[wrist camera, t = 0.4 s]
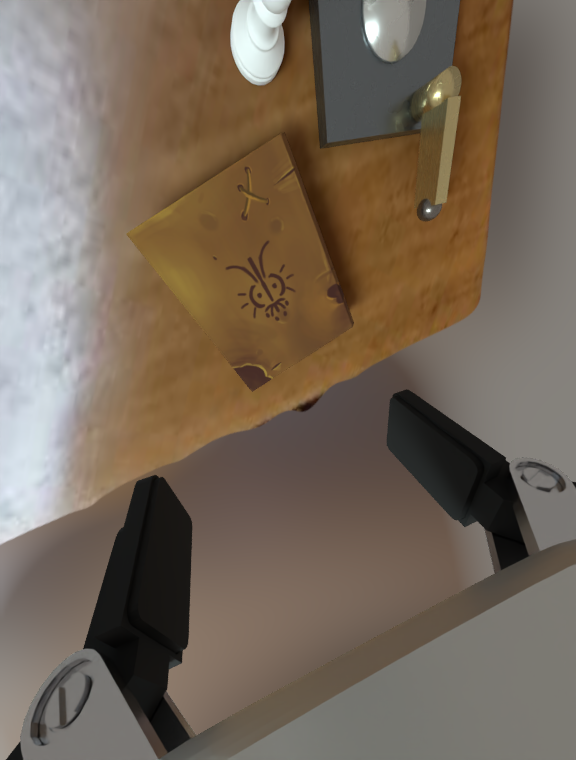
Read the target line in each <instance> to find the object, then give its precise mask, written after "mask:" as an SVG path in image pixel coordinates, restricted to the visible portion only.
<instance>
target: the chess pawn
mask: <svg viewBox="0 0 576 760" xmlns="http://www.w3.org/2000/svg"><path fill="white" fill-rule="evenodd" d="M290 2H291V0H240V1H239V3H238V4H237V6H236V8H235V11H234V13H233V19H232V26H231V33H230V38H231V49H232V54H233V57H234V60H235V63H236V65H237V67H238V69H239V70H240V72H241V74H242V75H243V76H244V77H245V78H246V79H247V80H248V81H250V82H251V83H253V84H256V85H266V84H267V83H269V82H271V81H272V80H273V78H274V77H275V76H276V74H277V72H278V70H279V67H280V65H281V63H282V60H283V55H284V44H285V41H284V32H283V28H282V23H283V21H284V19H285V17H286V14H287V9H288V6H289V4H290Z"/></svg>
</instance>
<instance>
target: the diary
mask: <svg viewBox="0 0 576 760" xmlns="http://www.w3.org/2000/svg"><path fill="white" fill-rule="evenodd" d="M127 236H128V237H129V238H130V239H131V241H132V242H133V243H134V244H135V246H136V247H137V248H138V249H139V251H140V252H141V253H142V254H143V256H144V257H145V258H146V259H147V261H148V262H149V263H150V264H151V266H152V267H153V268H154V269H155V271H156V272H157V273H158V274H159V276H160V277H161V278H162V279H163V281H164V282H165V283H166V284H167V286H168V287H169V288H170V289H171V291H172V292H173V293H174V295H175V296H176V297H177V298H178V300H179V301H180V302H181V303H182V305H183V306H184V307H185V308H186V310H187V311H188V312H189V313H190V315H191V316H192V317H193V318H194V320H195V321H196V322H197V323H198V325H199V326H200V327H201V328H202V330H203V331H204V332H205V333H206V335H207V336H208V337H209V338H210V340H211V341H212V342H213V343H214V345H215V346H216V347H217V348H218V350H219V351H220V352H221V353H222V355H223V356H224V357H225V359H226V360H227V361H228V362H229V364H230V365H231V366H232V367H233V369H234V370H235V371H236V372H237V374H238V375H239V376H240V377H241V379H242V380H243V381H244V382H245V384H246V385H247V386H248V387H249V389H250V390H251V391H252V392H253V391H254V390H256V389H257V388H259V387H260V386H262V385H263V384H265V383H266V382H268V381H270V380H271V379H273V378H274V377H276V376H277V375H279V374H280V373H282V372H284V371H285V370H287V369H288V368H290V367H291V366H293V365H294V364H296V363H298V362H299V361H301V360H302V359H304V358H305V357H307V356H308V355H310V354H312V353H313V352H315V351H316V350H318V349H319V348H321V347H322V346H324V345H325V344H327V343H329V342H330V341H332V340H333V339H335V338H336V337H338V336H339V335H341V334H343V333H344V332H346V331H347V330H349V329H350V328H352V327H353V324H354V322H353V319H352V316H351V313H350V311H349V308H348V305H347V302H346V300H345V297H344V294H343V291H342V289H341V286H340V283H339V280H338V278H337V275H336V272H335V269H334V267H333V264H332V261H331V258H330V256H329V253H328V250H327V247H326V245H325V242H324V239H323V236H322V234H321V231H320V228H319V225H318V223H317V220H316V217H315V214H314V212H313V209H312V206H311V203H310V201H309V198H308V195H307V192H306V190H305V187H304V184H303V181H302V179H301V176H300V173H299V170H298V168H297V165H296V162H295V159H294V157H293V154H292V151H291V149H290V146H289V143H288V140H287V138H286V135H285V133H281V134H279V135H278V136H276V137H274V138H273V139H271V140H270V141H268V142H267V143H265V144H264V145H262V146H261V147H259V148H257V149H256V150H254V151H253V152H251V153H250V154H248V155H247V156H245V157H244V158H242V159H241V160H239V161H237V162H236V163H234V164H233V165H231V166H230V167H228V168H227V169H225V170H224V171H222V172H221V173H219V174H217V175H216V176H214V177H213V178H211V179H210V180H208V181H207V182H205V183H204V184H202V185H201V186H199V187H197V188H196V189H194V190H193V191H191V192H190V193H188V194H187V195H185V196H184V197H182V198H181V199H179V200H177V201H176V202H174V203H173V204H171V205H170V206H168V207H167V208H165V209H164V210H162V211H161V212H159V213H157V214H156V215H154V216H153V217H151V218H150V219H148V220H147V221H145V222H144V223H142V224H141V225H139V226H137V227H136V228H134V229H133V230H131V231H130V232H128V233H127Z"/></svg>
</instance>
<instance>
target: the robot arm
mask: <svg viewBox="0 0 576 760" xmlns="http://www.w3.org/2000/svg"><path fill="white" fill-rule="evenodd" d="M387 446H388V448H389V450H390V451H391V452H392V453H393V454H394V455H395V457H396V458H397V459H398V460H399V461H400V462H401V463H402V464H403V465H404V466H405V467H406V468H407V470H408V471H409V472H410V473H411V474H412V475H413V476H414V477H415V478H416V479H417V480H418V482H419V483H420V484H421V485H422V486H423V487H424V488H425V489H426V490H427V491H428V493H430V494H431V496H432V497H433V498H434V499H435V500H436V501H437V502H438V503H439V505H440V506H441V507H442V508H443V509H444V510H445V511H446V512H447V513H448V514H449V515H450V516H451V517H452V518H453V519H454V520H459V522H460V523H462V525H463V526H464V527H466V526H468V525H470V524H472V523H474V522H476V521H478V522H479V523H480V524H481V525H482V526H483V527H484V529H485V534H486V538H487V542H488V547H489V551H490V556H491V560H492V565H493V569H494V573H495V574H493V575H491V576H489V577H487V578H486V579H484V580H482V581H480V582H478V583H476V584H474V585H472V586H471V587H469V588H467V589H465V590H463V591H461V592H459V593H458V594H455V595H454V596H452V597H450V598H448V599H446V600H444V601H442V602H440V603H439V604H436V605H435V606H433V607H431V608H429V609H427V610H425V611H424V612H422V613H420V614H418V615H416V616H414V617H412V618H410V619H408V620H407V621H405V622H403V623H401V624H399V625H397V626H395V627H393V628H392V629H390V630H388V631H386V632H384V633H382V634H380V635H379V636H377V637H375V638H373V639H371V640H369V641H368V642H366V643H364V644H362V645H360V646H358V647H356V648H354V649H353V650H351V651H349V652H347V653H345V654H343V655H341V656H340V657H338V658H336V659H334V660H332V661H330V662H328V663H327V664H325V665H323V666H321V667H319V668H317V669H316V670H314V671H312V672H310V673H308V674H306V675H304V676H303V677H301V678H299V679H297V680H295V681H294V682H292V683H290V684H288V685H286V686H284V687H283V688H281V689H279V690H277V691H275V692H274V693H271V694H270V695H268V696H266V697H264V698H262V699H260V700H258V701H257V702H255V703H253V704H251V705H249V706H248V707H246V708H244V709H242V710H240V711H239V712H237V713H235V714H234V715H232V716H230V717H228V718H227V719H225V720H223V721H221V722H219V723H218V724H216V725H214V726H212V727H211V728H209V729H207V730H205V731H204V732H202V733H200V734H198V735H197V736H196V734H195V733H194V731H193V730H192V728H191V727H190V725H189V724H188V723H187V721H186V720H185V718H184V717H183V715H182V714H181V712H180V711H179V709H178V708H177V706H176V705H175V703H174V702H173V700H172V699H171V698H170V696H169V695H168V693H167V692H166V690H167V684H168V672H169V669H171V668H172V667H175V666H177V665H179V664H181V663H182V651H183V650H184V649H186V647H187V645H188V637H189V607H190V578H191V549H192V521H191V518H190V516H189V515H188V513H187V512H186V510H185V509H184V507H183V506H182V504H181V503H180V501H179V500H178V499H177V497H176V495H175V494H174V492H173V491H172V489H171V488H170V486H169V485H168V483H167V482H166V480H165V479H164V478H163V477H160V478H159V477H158V476H157V475H154V476H151V477H148V478H145V479H142V480H139V481H137V483H136V485H135V488H134V492H133V495H132V499H131V503H130V506H129V510H128V513H127V517H126V521H125V524H124V527H123V528H121V529H120V530H119V532H118V534H117V536H116V539H115V542H114V546H113V549H112V552H111V556H110V559H109V563H108V566H107V569H106V573H105V576H104V580H103V583H102V587H101V590H100V594H99V597H98V600H97V604H96V607H95V610H94V614H93V617H92V621H91V624H90V628H89V631H88V634H87V638H86V641H85V645H84V648H83V650H80V651H77V652H75V653H74V654H72V655H71V656H69V657H68V658H66V659H65V660H64V661H63V662H62V663H61V664H60V665H59V666H58V667H57V668H56V669H55V670H53V672H52V673H51V674H50V675H49V677H48V678H47V679H46V680H45V682H44V683H43V684H42V686H41V687H40V689H39V691H38V692H37V694H36V696H35V697H34V699H33V701H32V703H31V705H30V707H29V710H28V712H27V715H26V717H25V719H24V723H23V727H22V732H21V736H20V739H21V741H20V742H19V744H18V745H17V746H16V748H15V749H14V750H13V751H12V753H11V754H10V755H9V757H8V758H7V759H6V760H576V482H572V481H571V480H570V479H569V478H568V477H567V475H565V474H564V473H563V472H562V471H561V470H559V469H558V468H556V467H554V466H552V465H550V464H548V463H546V462H543V461H541V460H537V459H533V458H524V457H522V458H517V459H514V460H513V461H511V463H509V462H507V461H506V457H504V456H503V455H501V454H500V453H498V452H497V451H496V450H494V449H493V448H491V447H490V446H489V445H487V444H486V443H484V442H483V441H481V440H480V439H479V438H477V437H476V436H474V435H473V434H471V433H470V432H469V431H467V430H466V429H464V428H463V427H461V426H460V425H459V424H457V423H456V422H454V421H453V420H451V419H450V418H448V417H447V416H446V415H444V414H443V413H441V412H440V411H438V410H437V409H436V408H434V407H433V406H431V405H430V404H428V403H427V402H426V401H424V400H423V399H421V398H420V397H418V396H417V395H416V394H414V393H413V392H411V391H409V390H404V391H401V392H398V393H395V394H394V395H393V397H392V398H391V400H390V407H389V420H388V433H387Z"/></svg>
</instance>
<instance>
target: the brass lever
mask: <svg viewBox="0 0 576 760" xmlns="http://www.w3.org/2000/svg"><path fill="white" fill-rule="evenodd" d="M460 88H461V74H460V71H459V69H458V68H457V67H456V66H450V67H448V68H447V69H446V70H444V71H443V72H441V73H440V74H439V75H437V76H436V77H434V78H433V79H432V80H430V81H429V82H427V83H426V84H424V85H423V86H422V87H420V88H419V89H418V90H416V92H415V93H414V95H413V97H412V100H411V104H410V112H411V116H412V118H413V119H414V120H415V121H417V122H420V121H421V133H420V144H419V156H418V168H417V180H416V192H415V203H414V208H417V216H418V218H419V219H420V220H422V221H430V220H432V219H434V218H435V217H436V216H437V215H438V214H439V213H440V211H441V208H442V203H446V200H447V193H448V185H449V178H450V171H451V164H452V157H453V150H454V143H455V136H456V129H457V122H458V115H459V108H460V101H461V96H458V94H459V92H460Z"/></svg>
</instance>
